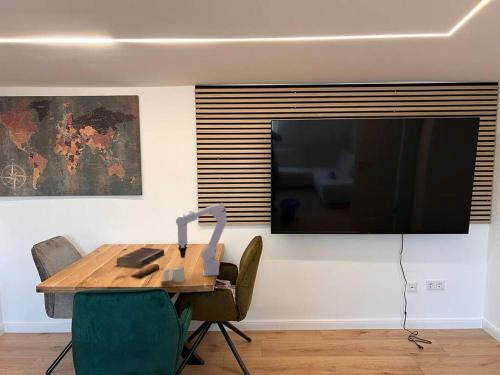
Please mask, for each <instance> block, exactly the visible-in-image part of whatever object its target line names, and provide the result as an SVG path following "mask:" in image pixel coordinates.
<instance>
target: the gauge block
mask: <svg viewBox="0 0 500 375" xmlns="http://www.w3.org/2000/svg"><path fill="white" fill-rule="evenodd" d="M172 269H173V283H182V282H185V266H174V267H173V268H172Z"/></svg>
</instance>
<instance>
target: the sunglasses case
mask: <svg viewBox="0 0 500 375" xmlns="http://www.w3.org/2000/svg"><path fill="white" fill-rule="evenodd" d="M159 269H160V265H159V264H158V263H154V264H150V265H149V264H148V265H147V266H145V267H141V268H140V270H138V271H136V272H134V273H133V274H131V275H130V278H135V279H141V278H144V277H145V276H147V275H148V274H150V273H153V272H154V271H157V270H159Z"/></svg>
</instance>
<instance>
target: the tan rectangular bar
mask: <svg viewBox="0 0 500 375" xmlns="http://www.w3.org/2000/svg"><path fill="white" fill-rule="evenodd" d="M173 283H174V280H173V268H166V269H165V268H164V269H163V271H162V275H161V284H160V285H161V286H162V287H163V286H171V285H173Z"/></svg>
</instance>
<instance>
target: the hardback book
mask: <svg viewBox="0 0 500 375" xmlns="http://www.w3.org/2000/svg"><path fill="white" fill-rule="evenodd" d="M164 256H165V249H161V248H151V247H140V248H138V249H136V250H134V251H131V252H129V253H126V254H124V255H122V256H120V257H118V258H116V266H118V265H119V266H120V267H121V266H122V267H131V268H140V269H142V268H144V266H145V267H146V265H147V266H148V265H149V264H150V263H152V262H154V261H156V260H158V259H160V258H162V257H164Z"/></svg>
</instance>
